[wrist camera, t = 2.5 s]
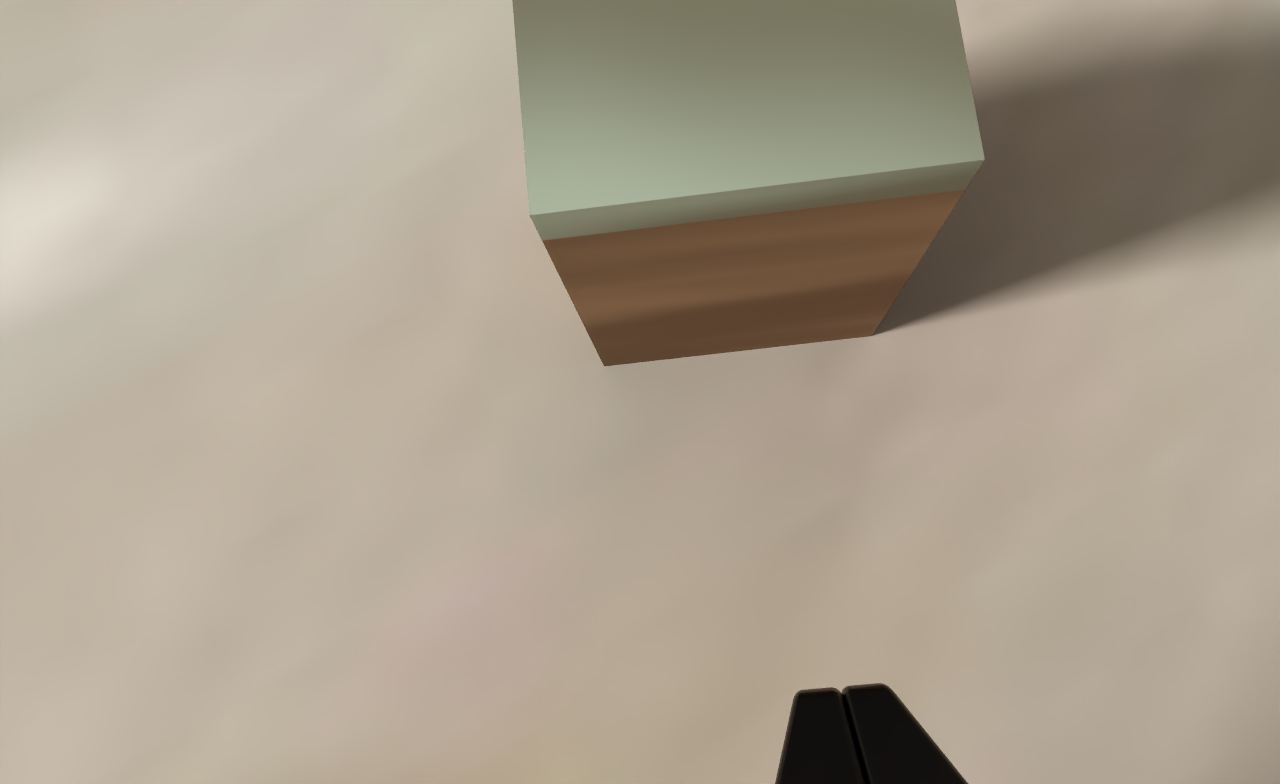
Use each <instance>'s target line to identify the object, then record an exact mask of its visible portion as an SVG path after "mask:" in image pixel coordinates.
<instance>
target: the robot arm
mask: <svg viewBox="0 0 1280 784" xmlns="http://www.w3.org/2000/svg"><path fill="white" fill-rule="evenodd" d="M775 784H968V783H967V782H966V780H965V779H964V778H963V777H962V775H961V774H960V773H959V772H958V771H957V769H956V768H955V767H954V766H953V764H952V763H951V762H950V761H949V759H948V758H947V757H946V756H945V754H944V753H943V752H942V751H941V750H940V748H939V747H938V746H937V745H936V743H935V742H934V741H933V740H932V738H931V737H930V736H929V735H928V733H927V732H926V731H925V730H924V728H923V727H922V726H921V725H920V724H919V722H918V721H917V720H916V719H915V717H914V716H913V715H912V714H911V712H910V711H909V710H908V709H907V707H906V706H905V705H904V704H903V703H902V701H901V700H900V699H899V698H898V696H897V695H896V694H895V693H894V692H893V690H892V689H891V688H889V687H888V686H887V685H885V684H881V683H876V684H865V685H854V686H847V687H845V688H844V689H843V690H842V693H840V691H839V690H838V689H836V688H832V687H831V688H820V689H808V690H800V691H798V692H797V693H796V695H795V696H794V699H793V703H792V708H791V713H790V717H789V722H788V727H787V731H786V736H785V741H784V745H783V750H782V754H781V759H780V764H779V768H778V773H777V778H776V782H775Z"/></svg>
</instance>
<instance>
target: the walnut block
mask: <svg viewBox="0 0 1280 784" xmlns="http://www.w3.org/2000/svg"><path fill="white" fill-rule="evenodd" d="M513 12H514V24H515V37H516V49H517V62H518V75H519V87H520V100H521V112H522V125H523V138H524V150H525V163H526V175H527V188H528V200H529V213H530V217H531V219H532V221H533V223H534V225H535V227H536V229H537V231H538V233H539V235H540V237H541V239H542V241H543V243H544V245H545V247H546V249H547V251H548V253H549V255H550V257H551V259H552V261H553V263H554V265H555V268H556V270H557V272H558V274H559V276H560V278H561V280H562V282H563V284H564V286H565V288H566V290H567V292H568V294H569V296H570V298H571V300H572V302H573V304H574V306H575V308H576V310H577V312H578V314H579V316H580V318H581V320H582V322H583V324H584V326H585V328H586V330H587V332H588V334H589V336H590V338H591V340H592V342H593V344H594V346H595V348H596V350H597V352H598V354H599V357H600V359H601V361H602V363H603V365H604V366H611V365H620V364H629V363H637V362H646V361H655V360H664V359H673V358H681V357H690V356H699V355H708V354H717V353H726V352H734V351H743V350H752V349H761V348H770V347H778V346H787V345H796V344H805V343H814V342H822V341H831V340H840V339H849V338H858V337H867V336H872V335H873V334H874V332H875V331H876V329H877V328H878V326H879V324H880V323H881V321H882V320H883V318H884V317H885V315H886V313H887V312H888V310H889V309H890V307H891V306H892V304H893V303H894V301H895V299H896V298H897V296H898V295H899V293H900V292H901V290H902V288H903V287H904V285H905V284H906V282H907V281H908V279H909V277H910V276H911V274H912V273H913V271H914V270H915V268H916V267H917V265H918V263H919V262H920V260H921V259H922V257H923V256H924V254H925V252H926V251H927V249H928V248H929V246H930V245H931V243H932V241H933V240H934V238H935V237H936V235H937V234H938V232H939V231H940V229H941V227H942V226H943V224H944V223H945V221H946V220H947V218H948V216H949V215H950V213H951V212H952V210H953V209H954V207H955V206H956V204H957V202H958V201H959V199H960V198H961V196H962V195H963V193H964V191H965V190H966V188H967V187H968V185H969V184H970V182H971V180H972V179H973V177H974V176H975V174H976V173H977V171H978V170H979V168H980V166H981V165H982V163H983V162H984V160H985V158H984V152H983V147H982V142H981V136H980V131H979V125H978V120H977V115H976V109H975V104H974V98H973V93H972V88H971V82H970V77H969V71H968V66H967V61H966V55H965V50H964V45H963V39H962V34H961V28H960V23H959V18H958V12H957V7H956V1H955V0H513Z"/></svg>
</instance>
